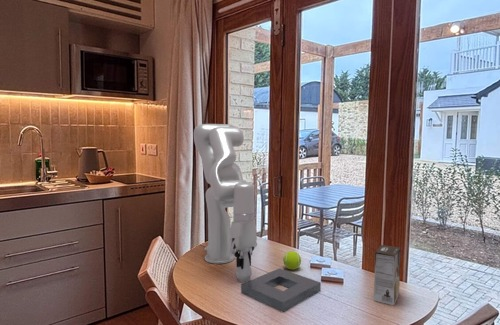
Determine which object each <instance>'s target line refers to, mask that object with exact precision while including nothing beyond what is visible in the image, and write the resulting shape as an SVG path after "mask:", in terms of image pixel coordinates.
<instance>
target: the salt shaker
mask: <svg viewBox="0 0 500 325" xmlns="http://www.w3.org/2000/svg"><path fill="white" fill-rule="evenodd" d="M249 250H250V248H246V249H244V250H243V257H242V258H244V268H243V269H241V266H240V267H236V269H235V276H236V279H237V280H238V282H240V283H245V282H248V281H250V280H251V276H252V269H251V268H252V266H250V262H249V257H248V252H249ZM239 252H240V251H239ZM239 252H238V253H239Z"/></svg>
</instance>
